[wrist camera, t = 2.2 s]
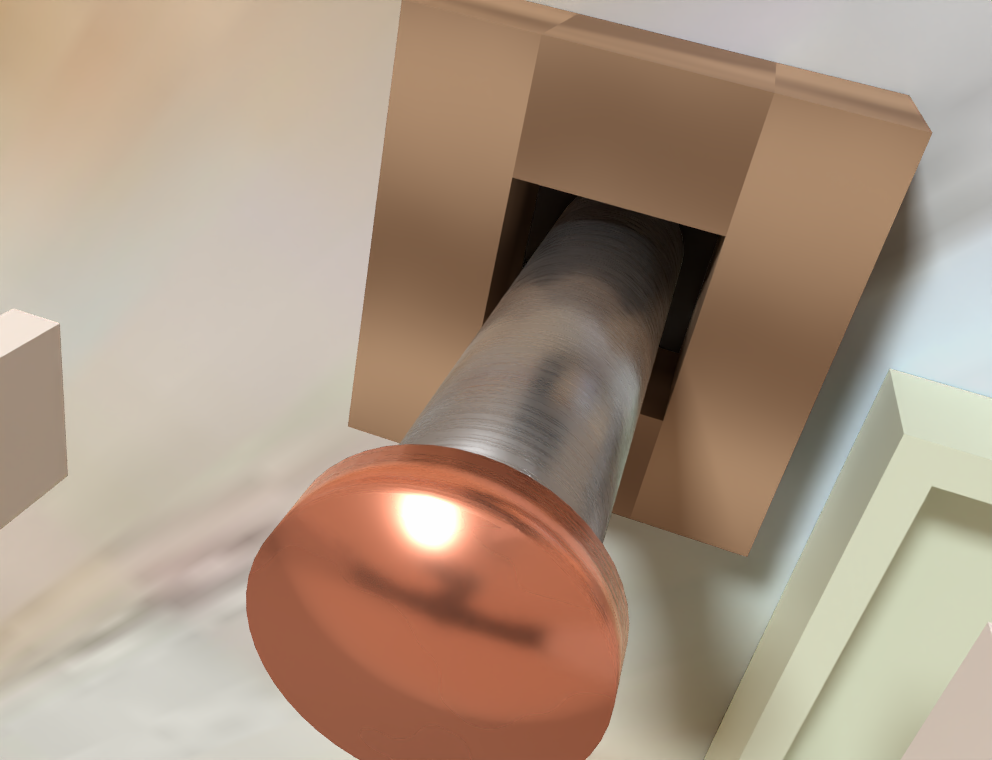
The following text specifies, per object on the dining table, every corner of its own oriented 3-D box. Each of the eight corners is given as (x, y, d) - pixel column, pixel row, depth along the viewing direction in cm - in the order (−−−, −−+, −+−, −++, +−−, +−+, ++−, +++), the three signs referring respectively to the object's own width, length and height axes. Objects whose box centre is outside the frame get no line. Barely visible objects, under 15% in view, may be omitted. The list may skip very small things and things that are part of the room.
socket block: (458, -16, 20) (402, -1, 17) (909, 95, 19) (932, 132, 16) (399, 364, 25) (347, 426, 22) (751, 475, 24) (747, 557, 21)
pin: (550, 137, 21) (256, 440, 10) (734, 187, 21) (664, 576, 9) (514, 303, 24) (238, 716, 12) (678, 353, 23) (563, 841, 11)
